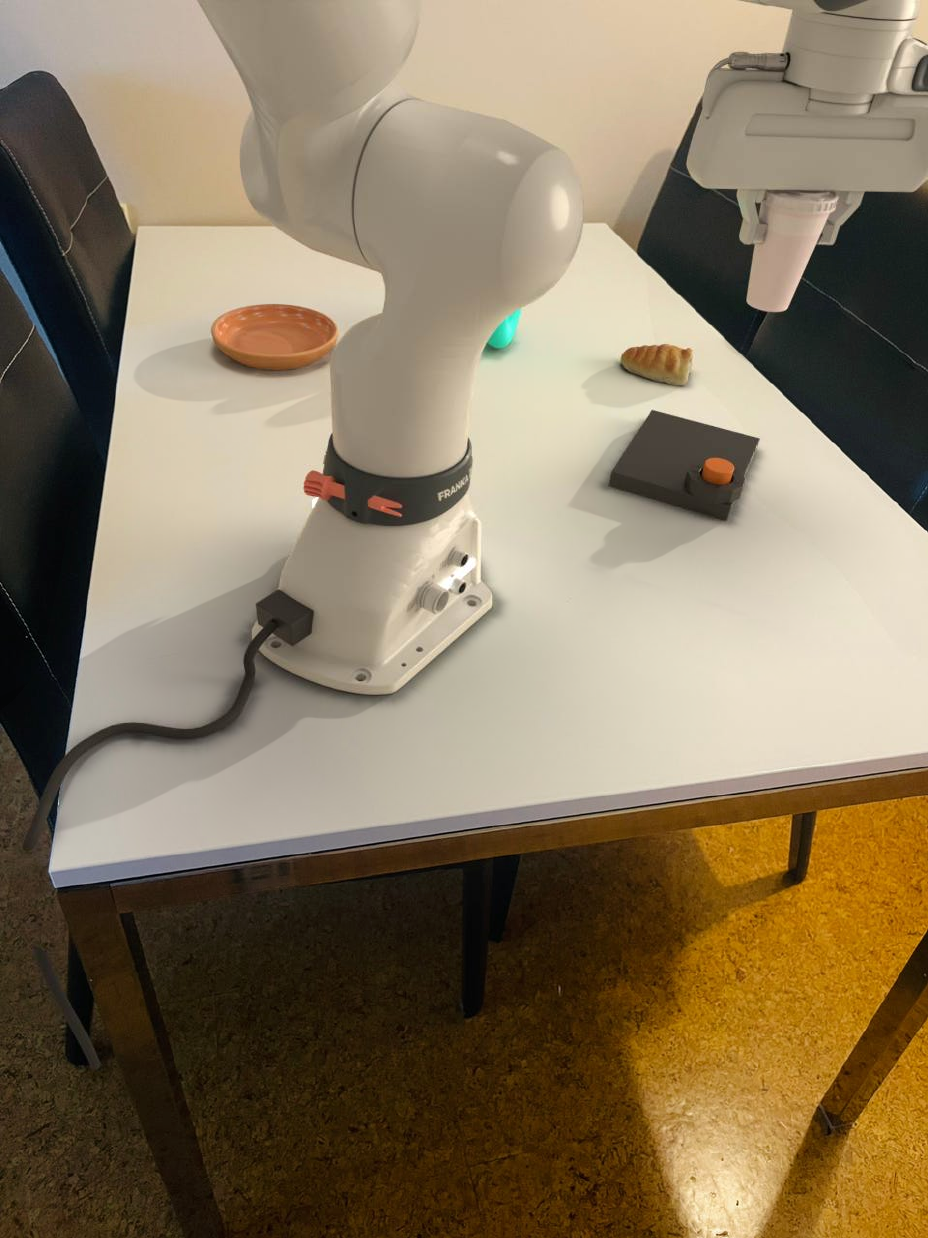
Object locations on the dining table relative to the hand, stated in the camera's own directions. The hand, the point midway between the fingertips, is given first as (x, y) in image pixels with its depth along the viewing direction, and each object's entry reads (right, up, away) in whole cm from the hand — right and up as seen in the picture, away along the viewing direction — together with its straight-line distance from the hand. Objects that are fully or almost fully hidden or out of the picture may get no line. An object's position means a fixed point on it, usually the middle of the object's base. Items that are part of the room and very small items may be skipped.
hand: (786, 242), depth 77 cm
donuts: (-26, +6, +46) cm, 53 cm away
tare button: (-1, -18, +16) cm, 24 cm away
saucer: (-52, +3, +39) cm, 66 cm away
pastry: (-2, 0, +41) cm, 41 cm away
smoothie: (0, -4, +4) cm, 6 cm away
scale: (-3, -16, +23) cm, 28 cm away
